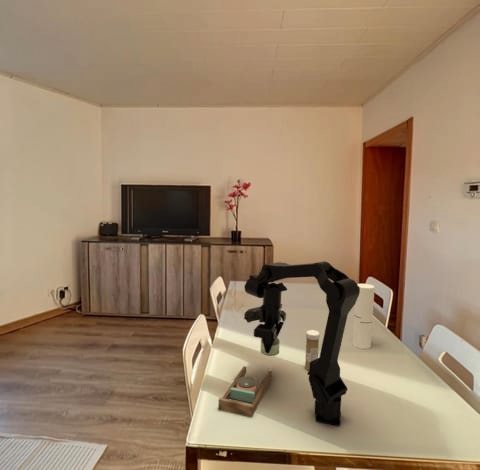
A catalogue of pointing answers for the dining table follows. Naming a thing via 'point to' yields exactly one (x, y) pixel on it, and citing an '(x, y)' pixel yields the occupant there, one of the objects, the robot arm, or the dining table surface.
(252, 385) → the terracotta jar
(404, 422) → the dining table surface
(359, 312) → the cylindrical container
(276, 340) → the green jar
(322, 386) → the robot arm
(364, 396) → the dining table surface
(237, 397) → the pusher
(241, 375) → the lane
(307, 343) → the sprinkles bottle
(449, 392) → the dining table surface
